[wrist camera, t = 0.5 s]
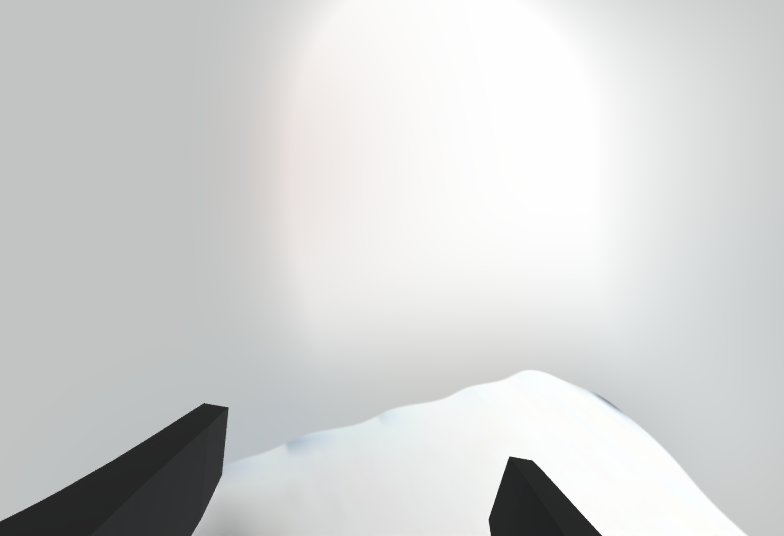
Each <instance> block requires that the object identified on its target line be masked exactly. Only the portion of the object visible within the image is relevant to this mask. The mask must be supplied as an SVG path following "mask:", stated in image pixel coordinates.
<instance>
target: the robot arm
mask: <svg viewBox="0 0 784 536" xmlns="http://www.w3.org/2000/svg"><path fill="white" fill-rule="evenodd" d="M227 417H228V407H222V406H217V405H211V404H205V403H204V404H202V405H201V406H199V407H197V408H196V409H194V410H193V411H191V412H189V413H188V414H186V415H185V416H183V417H181V418H180V419H178V420H177V421H175V422H174V423H172V424H171V425H169V426H167V427H166V428H164V429H163V430H161V431H160V432H158V433H156V434H155V435H153V436H152V437H150V438H149V439H147V440H146V441H144V442H142V443H141V444H139V445H137V446H136V447H134V448H132V449H131V450H129V451H128V452H126V453H124V454H123V455H121V456H120V457H118V458H116V459H115V460H113V461H111V462H109V463H108V464H106V465H104V466H103V467H101V468H99V469H97V470H95V471H94V472H92V473H90V474H89V475H87V476H85V477H83V478H82V479H80V480H78V481H76V482H75V483H73V484H71V485H69V486H68V487H66V488H64V489H62V490H61V491H59V492H57V493H55V494H53V495H51V496H50V497H47V498H46V499H44V500H42V501H40V502H38V503H36V504H34V505H32V506H30V507H28V508H27V509H25V510H23V511H21V512H19V513H16V514H14V515H12V516H10V517H9V518H7V519H4V520H2V521H0V536H191V535H192V533H193V532H194V530H195V528H196V527H197V525H198V523H199V522H200V520H201V518H202V516H203V514H204V512H205V510H206V508H207V506H208V504H209V501H210V499H211V497H212V495H213V493H214V491H215V489H216V486H217V484H218V482H219V480H220V478H221V476H222V468H223V458H224V447H225V438H226V428H227ZM489 525H490V532H491V536H602V535H601V534H600V533H599V532H598V531H597V530H596V529H595V528H594V527H593V526H592V525H591V523H590V522H589V521H588V520H587V519H586V518H585V517H584V516H583V515H582V514H581V513H580V511H579V510H578V509H577V508H576V507H575V506H574V505H573V504H572V503H571V501H570V500H569V499H568V498H567V497H566V496H565V495H564V494H563V493H562V492H561V490H560V489H559V488H558V487H557V486H556V485H555V484H554V483H553V482H552V481H551V479H550V478H549V477H548V476H547V475H546V474H545V473H544V472H543V471H542V470H541V469H540V468H539V467H538V466H537V465H536V464H535V463H534V462H533V461H532V460H527V459H521V458H515V457H509V459H508V462H507V465H506V468H505V471H504V474H503V477H502V480H501V483H500V486H499V489H498V493H497V496H496V499H495V502H494V505H493V508H492V511H491V514H490V517H489Z"/></svg>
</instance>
